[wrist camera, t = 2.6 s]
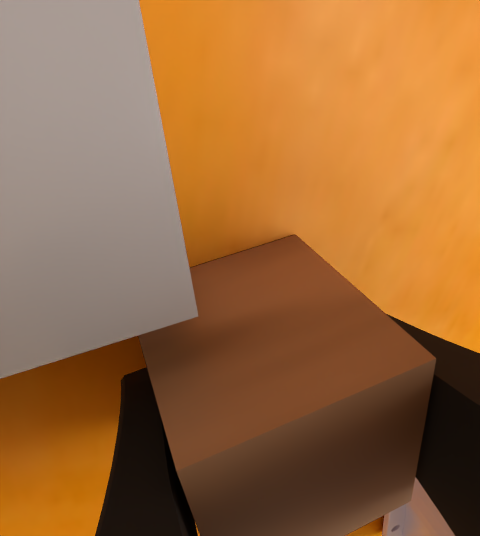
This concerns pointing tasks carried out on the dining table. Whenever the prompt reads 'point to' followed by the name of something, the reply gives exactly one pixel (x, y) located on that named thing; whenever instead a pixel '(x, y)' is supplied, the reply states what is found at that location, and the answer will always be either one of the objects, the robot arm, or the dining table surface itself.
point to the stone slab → (83, 185)
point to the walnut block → (288, 397)
